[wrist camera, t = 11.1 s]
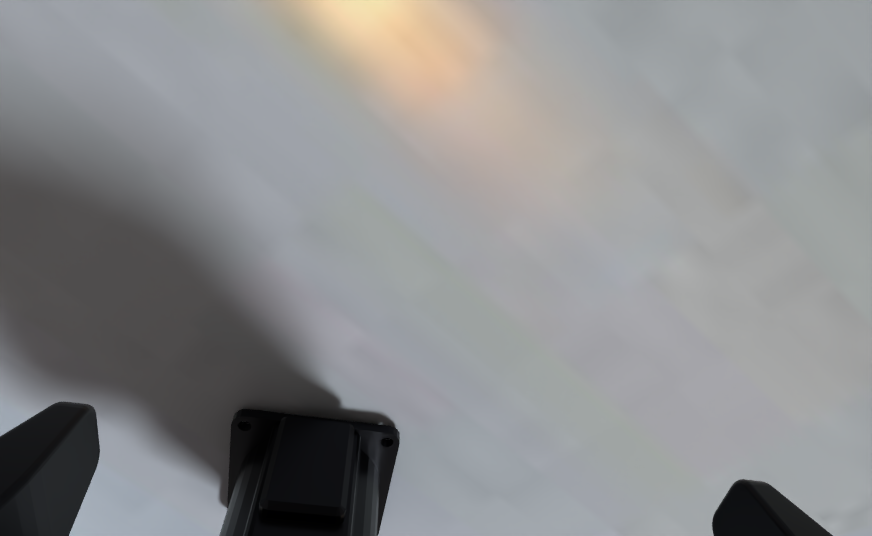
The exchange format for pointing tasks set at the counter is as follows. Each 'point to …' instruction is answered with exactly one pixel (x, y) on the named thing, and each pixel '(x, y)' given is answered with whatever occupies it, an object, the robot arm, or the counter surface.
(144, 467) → the counter surface
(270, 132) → the counter surface
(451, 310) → the counter surface
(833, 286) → the counter surface
